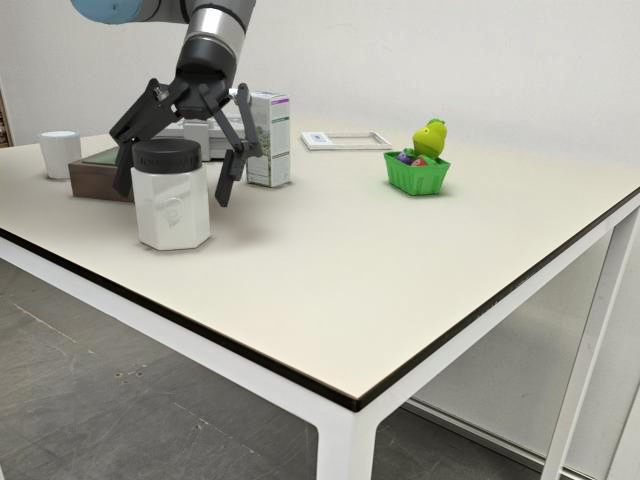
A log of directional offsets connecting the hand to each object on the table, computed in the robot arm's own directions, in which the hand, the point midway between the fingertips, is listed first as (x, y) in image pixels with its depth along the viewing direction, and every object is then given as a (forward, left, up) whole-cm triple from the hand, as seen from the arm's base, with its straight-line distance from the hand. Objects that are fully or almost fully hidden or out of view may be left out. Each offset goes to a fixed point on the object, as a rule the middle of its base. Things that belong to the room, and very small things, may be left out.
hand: (169, 197), depth 75 cm
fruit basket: (+27, +37, -6) cm, 46 cm away
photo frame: (+7, +70, -6) cm, 70 cm away
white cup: (-33, +25, -6) cm, 42 cm away
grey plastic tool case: (-20, +50, -6) cm, 54 cm away
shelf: (-17, +21, -6) cm, 28 cm away
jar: (0, +1, -6) cm, 6 cm away
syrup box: (+2, +32, -6) cm, 33 cm away
